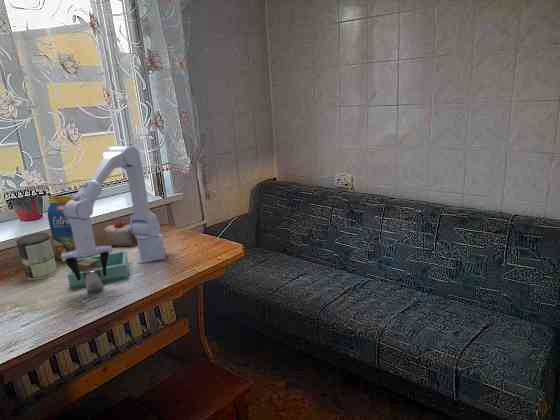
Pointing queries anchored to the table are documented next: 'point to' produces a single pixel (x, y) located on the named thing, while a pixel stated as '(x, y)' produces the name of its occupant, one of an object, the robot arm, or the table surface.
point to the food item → (120, 235)
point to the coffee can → (37, 256)
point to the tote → (114, 269)
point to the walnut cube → (88, 264)
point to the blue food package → (61, 225)
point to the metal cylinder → (93, 280)
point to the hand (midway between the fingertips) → (92, 276)
